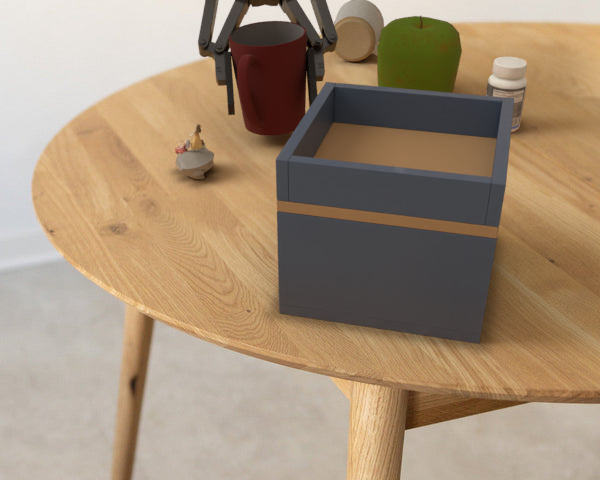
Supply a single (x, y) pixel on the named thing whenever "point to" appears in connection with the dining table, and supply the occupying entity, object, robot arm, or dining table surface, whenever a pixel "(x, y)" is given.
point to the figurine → (194, 156)
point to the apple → (418, 54)
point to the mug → (270, 75)
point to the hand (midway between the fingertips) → (272, 108)
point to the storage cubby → (393, 208)
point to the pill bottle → (509, 84)
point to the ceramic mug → (358, 30)
